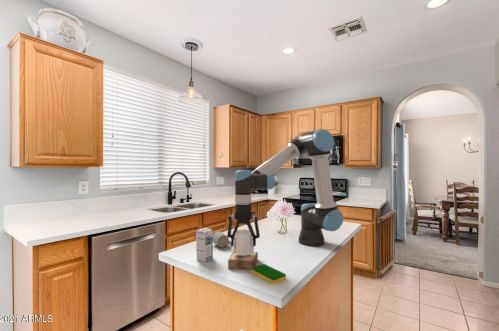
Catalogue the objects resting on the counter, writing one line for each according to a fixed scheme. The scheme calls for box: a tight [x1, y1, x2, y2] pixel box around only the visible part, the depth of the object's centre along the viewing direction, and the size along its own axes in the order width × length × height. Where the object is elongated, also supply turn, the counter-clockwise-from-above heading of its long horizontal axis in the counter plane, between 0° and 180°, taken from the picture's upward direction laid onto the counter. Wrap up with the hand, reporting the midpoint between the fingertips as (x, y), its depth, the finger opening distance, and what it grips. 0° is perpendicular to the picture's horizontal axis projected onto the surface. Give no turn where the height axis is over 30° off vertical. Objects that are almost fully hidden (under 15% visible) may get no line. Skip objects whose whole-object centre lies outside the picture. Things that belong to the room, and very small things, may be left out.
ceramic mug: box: [212, 230, 232, 248], centre depth 142 cm, size 11×8×8 cm
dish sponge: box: [251, 263, 287, 285], centre depth 102 cm, size 7×14×2 cm, turn 37°
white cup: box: [234, 229, 252, 256], centre depth 114 cm, size 8×8×10 cm
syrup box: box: [195, 227, 214, 263], centre depth 121 cm, size 6×6×14 cm
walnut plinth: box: [227, 250, 259, 271], centre depth 114 cm, size 12×12×4 cm
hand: (243, 252), depth 114 cm, fingers closed on white cup, 8 cm apart
